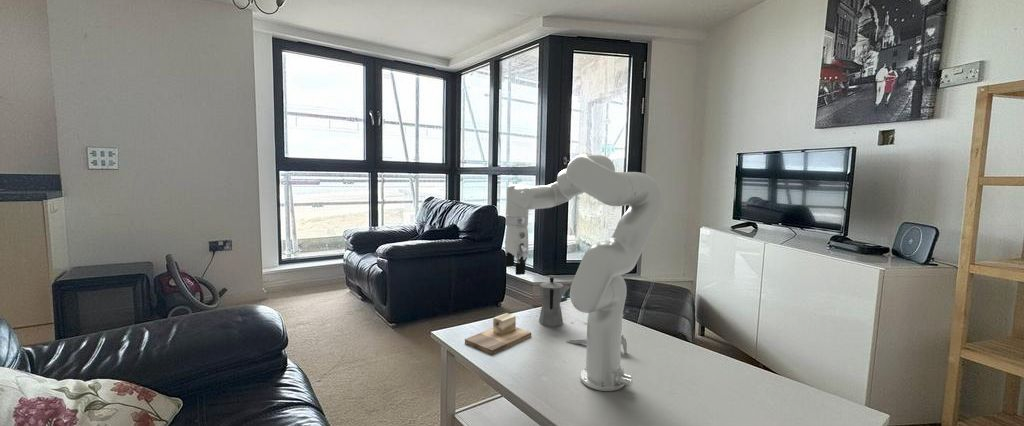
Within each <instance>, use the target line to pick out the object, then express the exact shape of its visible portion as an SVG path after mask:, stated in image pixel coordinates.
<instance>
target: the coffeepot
mask: <svg viewBox="0 0 1024 426" xmlns="http://www.w3.org/2000/svg"><path fill="white" fill-rule="evenodd" d="M554 279H555V278H554V277H553V276H552V277H549V281H545V282H544V281H543V282H542V283H539V292H540V299H541V302H542V305H541V309H540V312H539V313H540V315H539V320H538V322H539V323H540V325H542V326H545V327H559V326H562V324H563V322H564V321H563V320H564V319H563V314H562V307H561V302H562V298H563V294H564V293H563V292H564V287H565V285H564V284H562V283H561V282H556V281H554Z"/></svg>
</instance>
